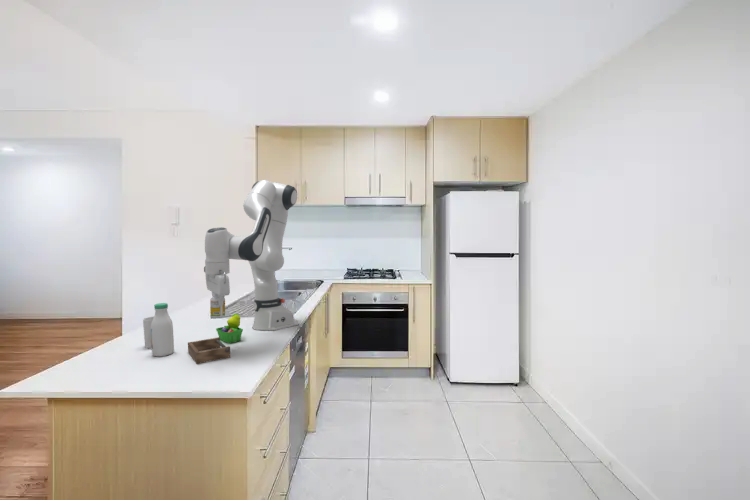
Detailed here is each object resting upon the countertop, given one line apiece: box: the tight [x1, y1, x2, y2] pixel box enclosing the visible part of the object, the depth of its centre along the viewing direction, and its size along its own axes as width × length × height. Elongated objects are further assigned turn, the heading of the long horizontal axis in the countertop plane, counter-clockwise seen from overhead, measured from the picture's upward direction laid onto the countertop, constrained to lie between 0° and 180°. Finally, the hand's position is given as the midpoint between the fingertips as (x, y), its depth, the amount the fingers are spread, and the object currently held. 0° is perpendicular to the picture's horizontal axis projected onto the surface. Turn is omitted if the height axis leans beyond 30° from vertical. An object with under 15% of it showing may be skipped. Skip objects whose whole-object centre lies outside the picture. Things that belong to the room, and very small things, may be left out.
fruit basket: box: [215, 313, 244, 344], centre depth 172 cm, size 11×9×11 cm
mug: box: [142, 315, 155, 349], centre depth 166 cm, size 10×7×12 cm, turn 1°
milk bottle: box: [151, 302, 175, 357], centre depth 154 cm, size 8×8×20 cm
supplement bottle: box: [209, 291, 226, 319], centre depth 153 cm, size 5×5×10 cm
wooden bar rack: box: [187, 336, 231, 365], centre depth 153 cm, size 12×18×4 cm
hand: (218, 304), depth 153 cm, fingers closed on supplement bottle, 5 cm apart
